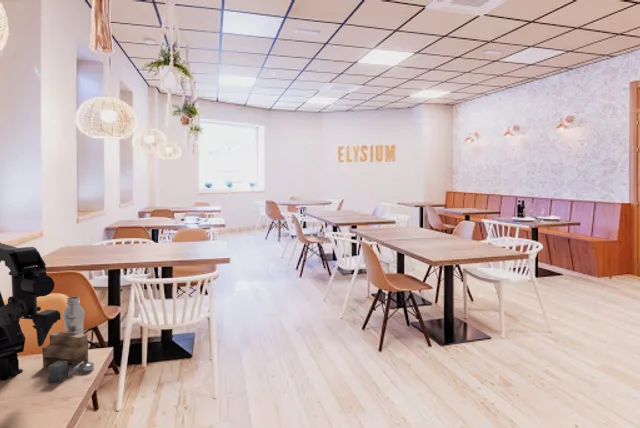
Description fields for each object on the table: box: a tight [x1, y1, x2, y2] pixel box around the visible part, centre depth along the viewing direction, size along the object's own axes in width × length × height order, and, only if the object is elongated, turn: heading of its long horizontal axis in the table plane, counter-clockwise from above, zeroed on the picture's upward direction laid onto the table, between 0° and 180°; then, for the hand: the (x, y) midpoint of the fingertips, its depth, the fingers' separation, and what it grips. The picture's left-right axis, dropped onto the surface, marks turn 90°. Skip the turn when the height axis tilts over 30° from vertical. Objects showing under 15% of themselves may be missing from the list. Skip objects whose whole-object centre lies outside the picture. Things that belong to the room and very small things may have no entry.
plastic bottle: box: [62, 296, 86, 334], centre depth 146 cm, size 6×7×20 cm
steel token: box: [78, 361, 95, 374], centre depth 136 cm, size 4×4×2 cm
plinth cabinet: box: [41, 331, 89, 369], centre depth 139 cm, size 12×6×10 cm, turn 78°
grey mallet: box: [47, 361, 84, 384], centre depth 133 cm, size 3×12×5 cm, turn 175°
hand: (26, 344), depth 125 cm, fingers open, 9 cm apart
